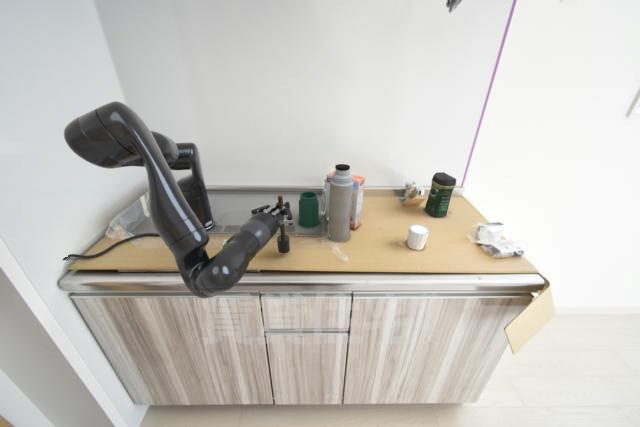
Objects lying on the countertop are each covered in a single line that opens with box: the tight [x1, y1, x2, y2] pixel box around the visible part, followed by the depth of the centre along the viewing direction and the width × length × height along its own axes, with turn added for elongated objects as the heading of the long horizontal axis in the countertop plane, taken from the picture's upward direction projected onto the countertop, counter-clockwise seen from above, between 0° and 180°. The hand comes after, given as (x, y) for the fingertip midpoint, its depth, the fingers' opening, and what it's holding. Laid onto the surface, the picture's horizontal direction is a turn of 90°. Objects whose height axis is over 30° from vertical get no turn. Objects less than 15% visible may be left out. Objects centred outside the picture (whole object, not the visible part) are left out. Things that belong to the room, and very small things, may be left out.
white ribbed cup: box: [406, 224, 430, 251], centre depth 87 cm, size 7×7×7 cm
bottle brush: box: [276, 194, 291, 255], centre depth 76 cm, size 4×4×20 cm
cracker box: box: [325, 170, 366, 230], centre depth 97 cm, size 14×6×21 cm, turn 58°
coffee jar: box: [424, 171, 457, 218], centre depth 106 cm, size 10×8×19 cm
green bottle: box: [298, 190, 320, 229], centre depth 98 cm, size 8×8×13 cm
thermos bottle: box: [327, 163, 354, 243], centre depth 86 cm, size 8×8×28 cm
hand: (284, 203), depth 76 cm, fingers closed on bottle brush, 1 cm apart
